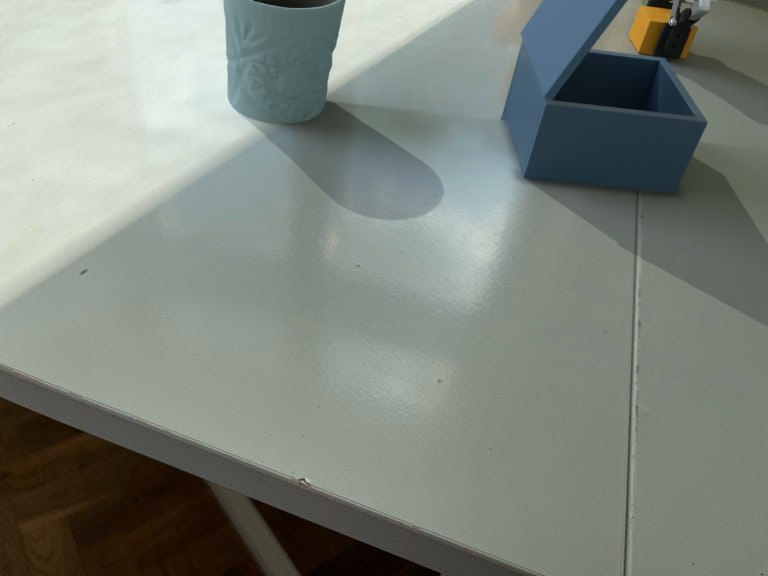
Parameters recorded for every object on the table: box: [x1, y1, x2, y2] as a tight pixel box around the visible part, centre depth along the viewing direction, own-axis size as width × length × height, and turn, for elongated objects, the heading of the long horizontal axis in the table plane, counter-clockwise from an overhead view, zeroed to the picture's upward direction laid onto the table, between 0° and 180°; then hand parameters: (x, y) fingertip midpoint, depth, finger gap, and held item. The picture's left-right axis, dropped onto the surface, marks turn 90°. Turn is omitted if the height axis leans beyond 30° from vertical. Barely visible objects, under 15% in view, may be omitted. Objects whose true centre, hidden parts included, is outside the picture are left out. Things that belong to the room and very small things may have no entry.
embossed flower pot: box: [222, 0, 347, 125], centre depth 67 cm, size 10×10×12 cm
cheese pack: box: [628, 5, 700, 60], centre depth 94 cm, size 6×4×4 cm
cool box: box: [500, 40, 709, 194], centre depth 70 cm, size 14×12×8 cm
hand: (658, 43), depth 95 cm, fingers open, 5 cm apart
